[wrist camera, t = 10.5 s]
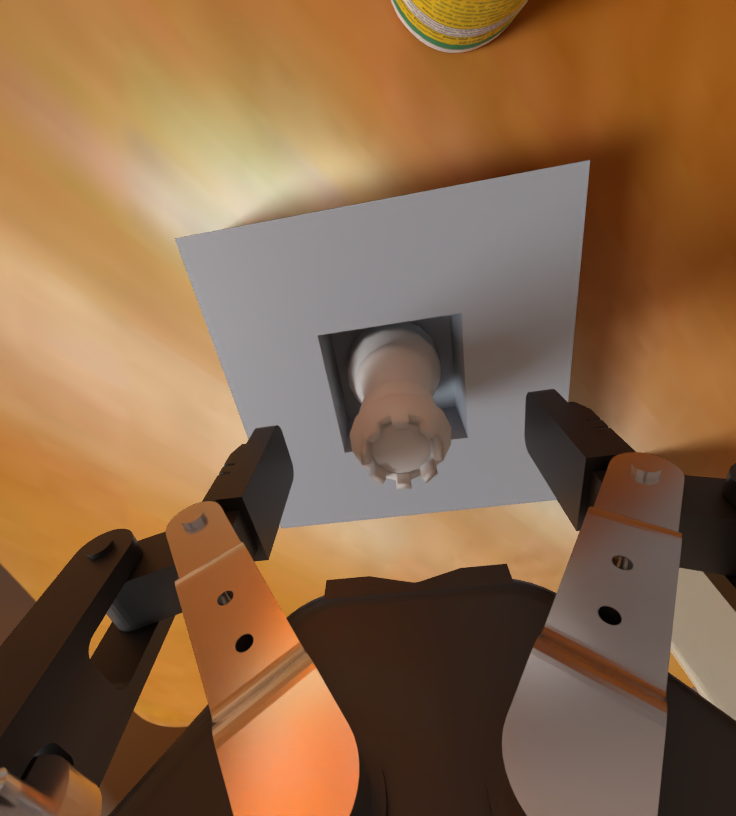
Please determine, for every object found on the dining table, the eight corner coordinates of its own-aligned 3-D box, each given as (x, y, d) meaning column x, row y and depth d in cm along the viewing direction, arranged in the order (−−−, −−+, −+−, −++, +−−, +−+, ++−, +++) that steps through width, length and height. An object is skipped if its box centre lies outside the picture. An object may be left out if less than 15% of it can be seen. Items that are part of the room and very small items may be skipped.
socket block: (218, 233, 17) (174, 238, 13) (541, 172, 15) (590, 159, 12) (296, 479, 23) (281, 528, 19) (529, 452, 22) (559, 499, 18)
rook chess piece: (456, 369, 18) (506, 467, 11) (384, 418, 20) (388, 533, 13) (402, 296, 17) (420, 356, 10) (328, 355, 18) (296, 446, 11)
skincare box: (561, 488, 23) (724, 734, 12) (634, 453, 22) (891, 693, 11) (599, 548, 25) (765, 800, 14) (668, 519, 24) (908, 774, 13)
